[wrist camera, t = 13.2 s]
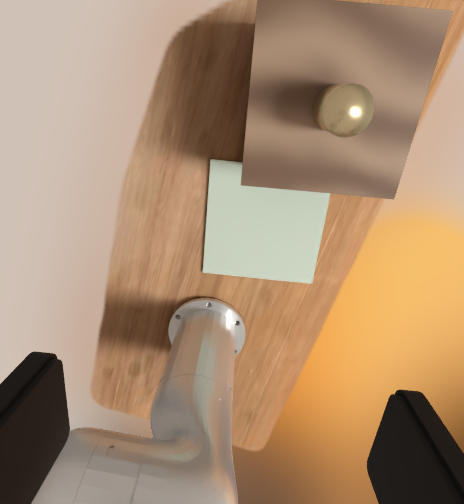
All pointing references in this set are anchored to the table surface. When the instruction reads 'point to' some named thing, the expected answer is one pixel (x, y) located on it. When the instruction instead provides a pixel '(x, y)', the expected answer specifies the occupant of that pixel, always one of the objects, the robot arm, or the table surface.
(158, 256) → the table surface
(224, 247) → the sage mat
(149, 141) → the table surface
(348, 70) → the walnut cover
